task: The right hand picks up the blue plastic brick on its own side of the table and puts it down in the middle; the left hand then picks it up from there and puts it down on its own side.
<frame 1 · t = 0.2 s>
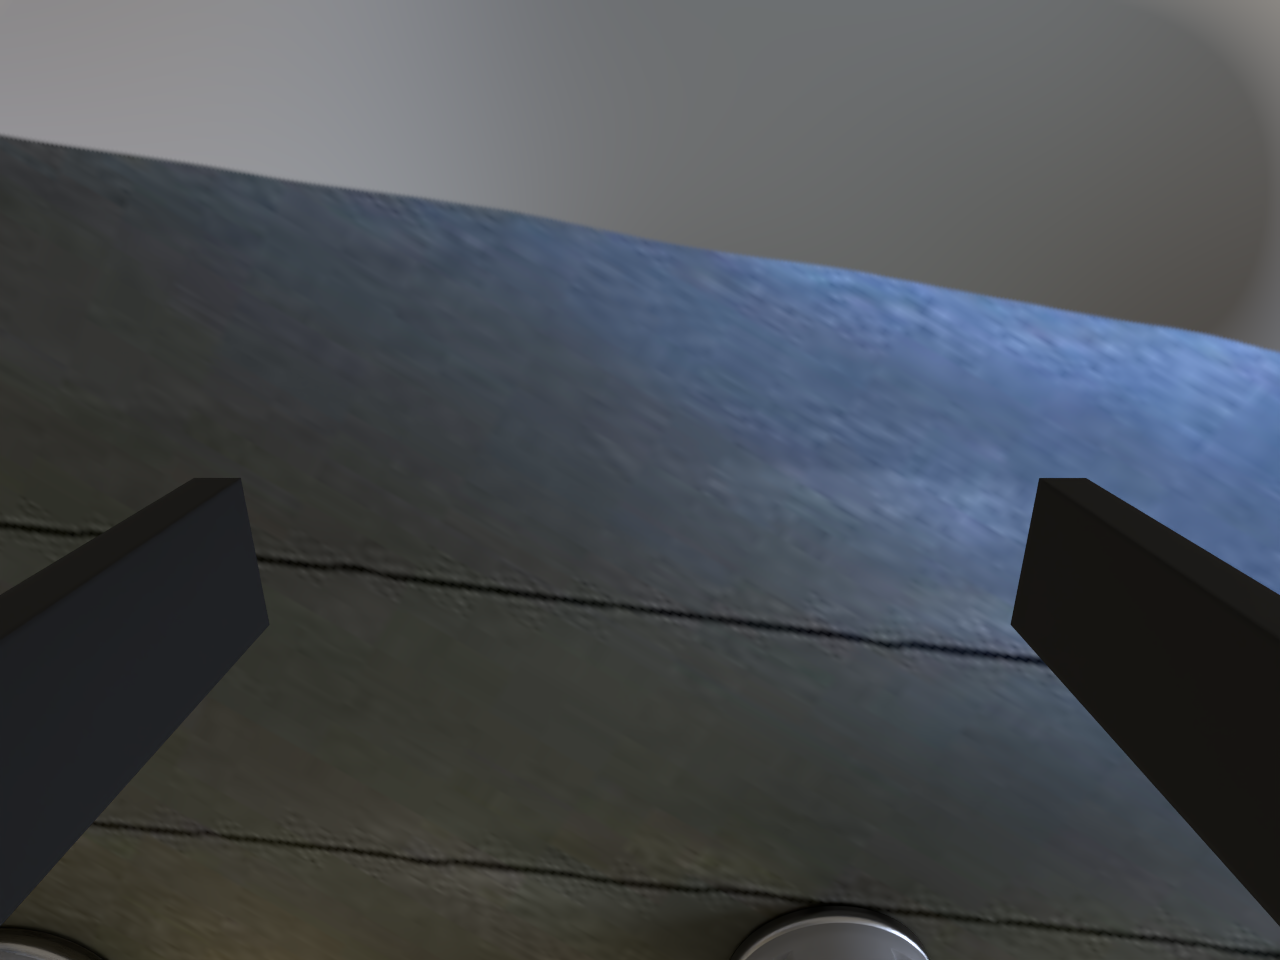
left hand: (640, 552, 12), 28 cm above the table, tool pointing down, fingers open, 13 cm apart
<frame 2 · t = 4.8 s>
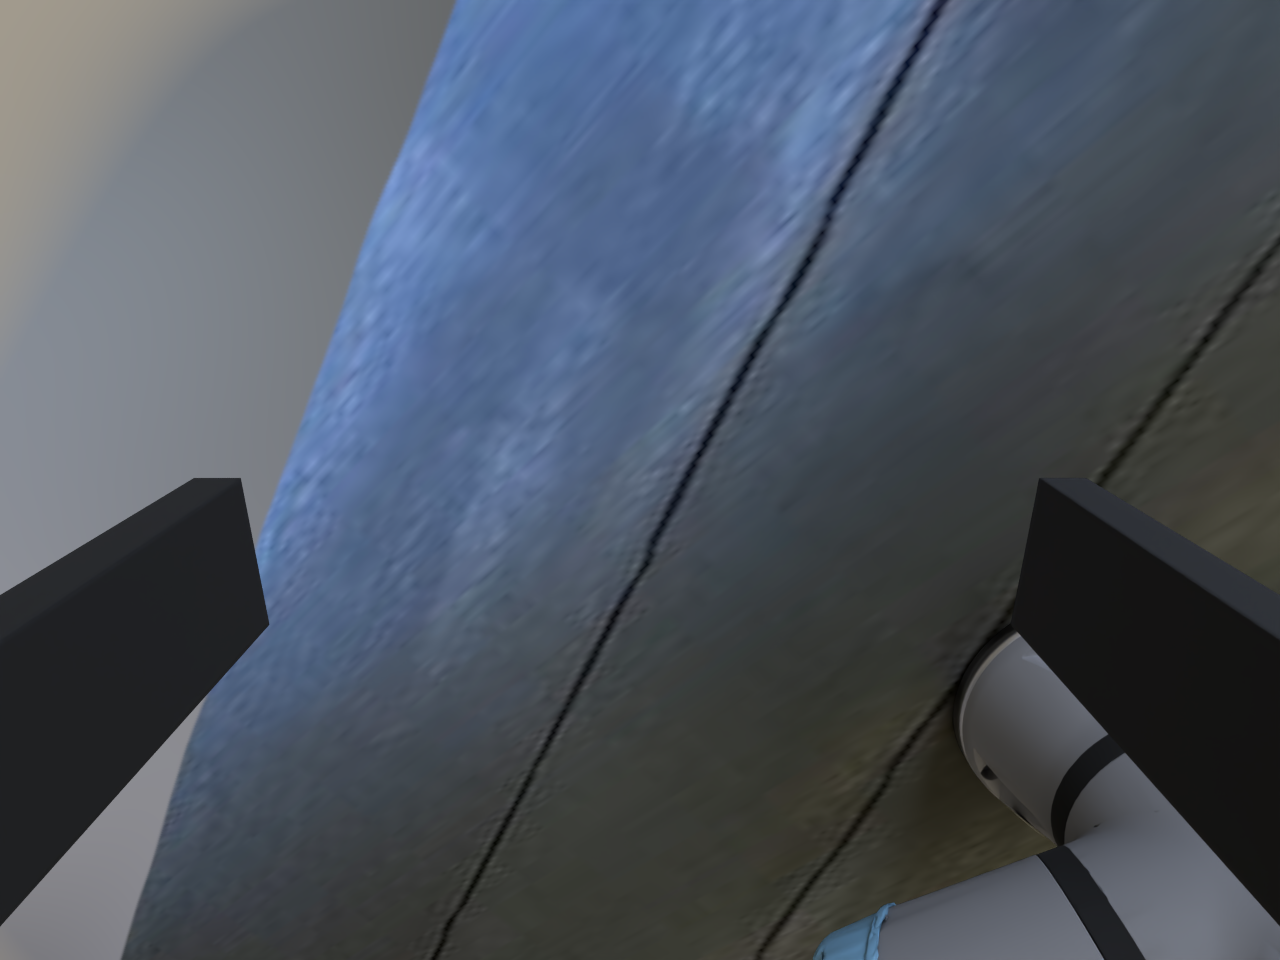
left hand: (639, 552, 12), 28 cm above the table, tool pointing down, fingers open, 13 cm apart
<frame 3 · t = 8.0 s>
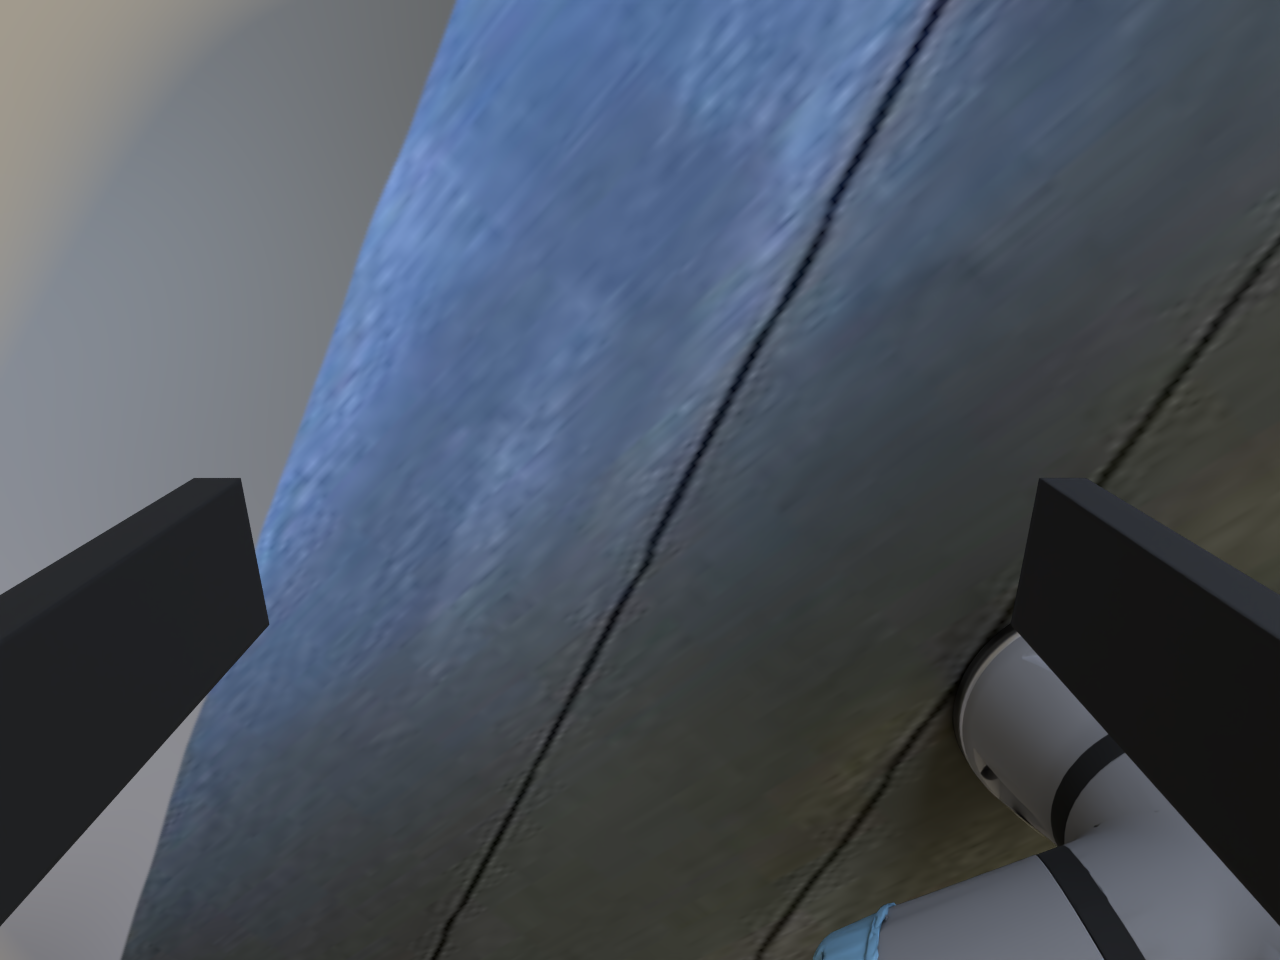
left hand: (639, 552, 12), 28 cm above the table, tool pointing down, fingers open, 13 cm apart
when the right hand's fingers open (3 cm above the table, at t = 11.5 s): brick drops 1 cm, on the table.
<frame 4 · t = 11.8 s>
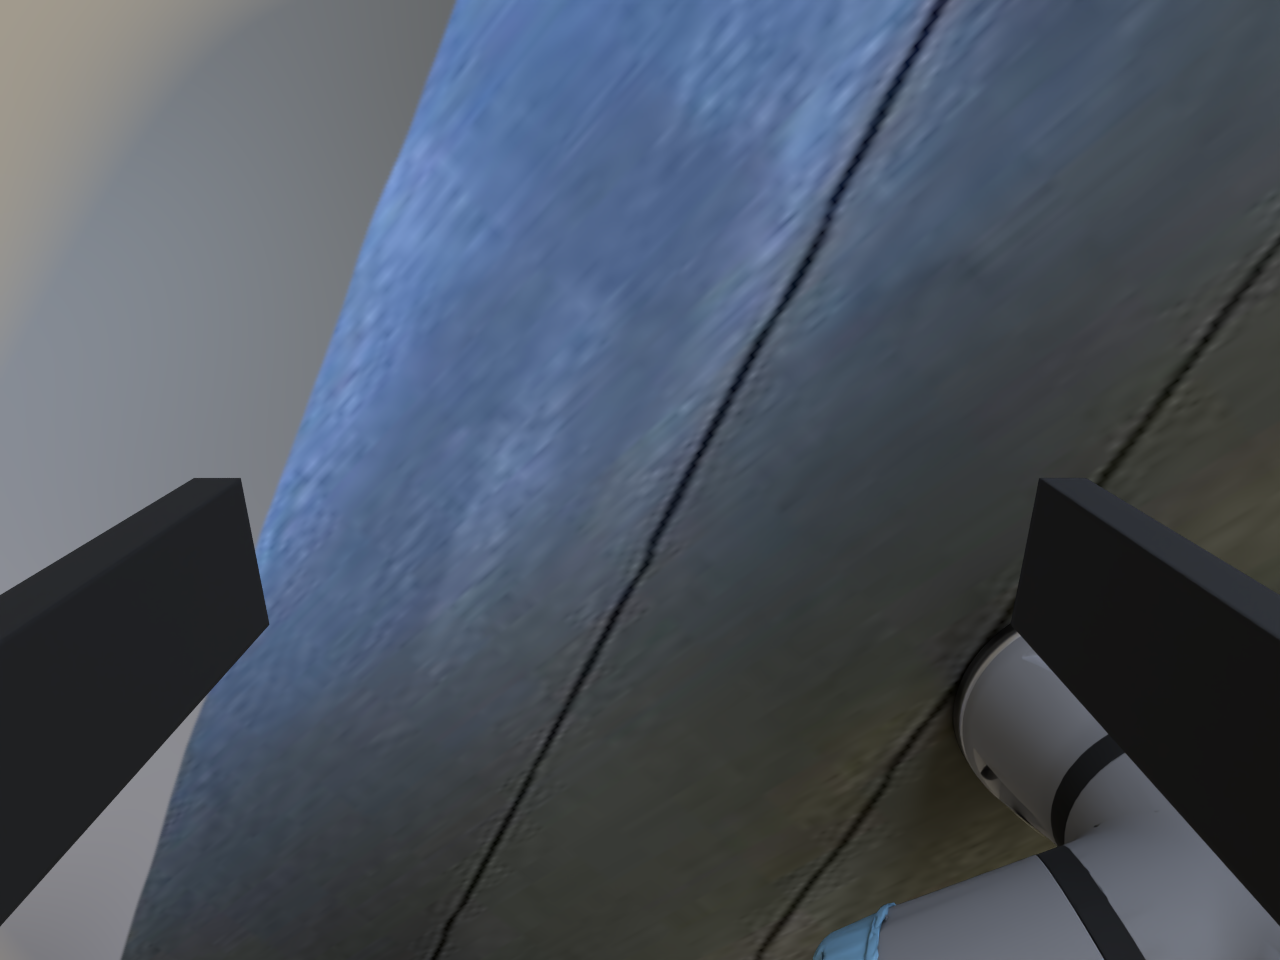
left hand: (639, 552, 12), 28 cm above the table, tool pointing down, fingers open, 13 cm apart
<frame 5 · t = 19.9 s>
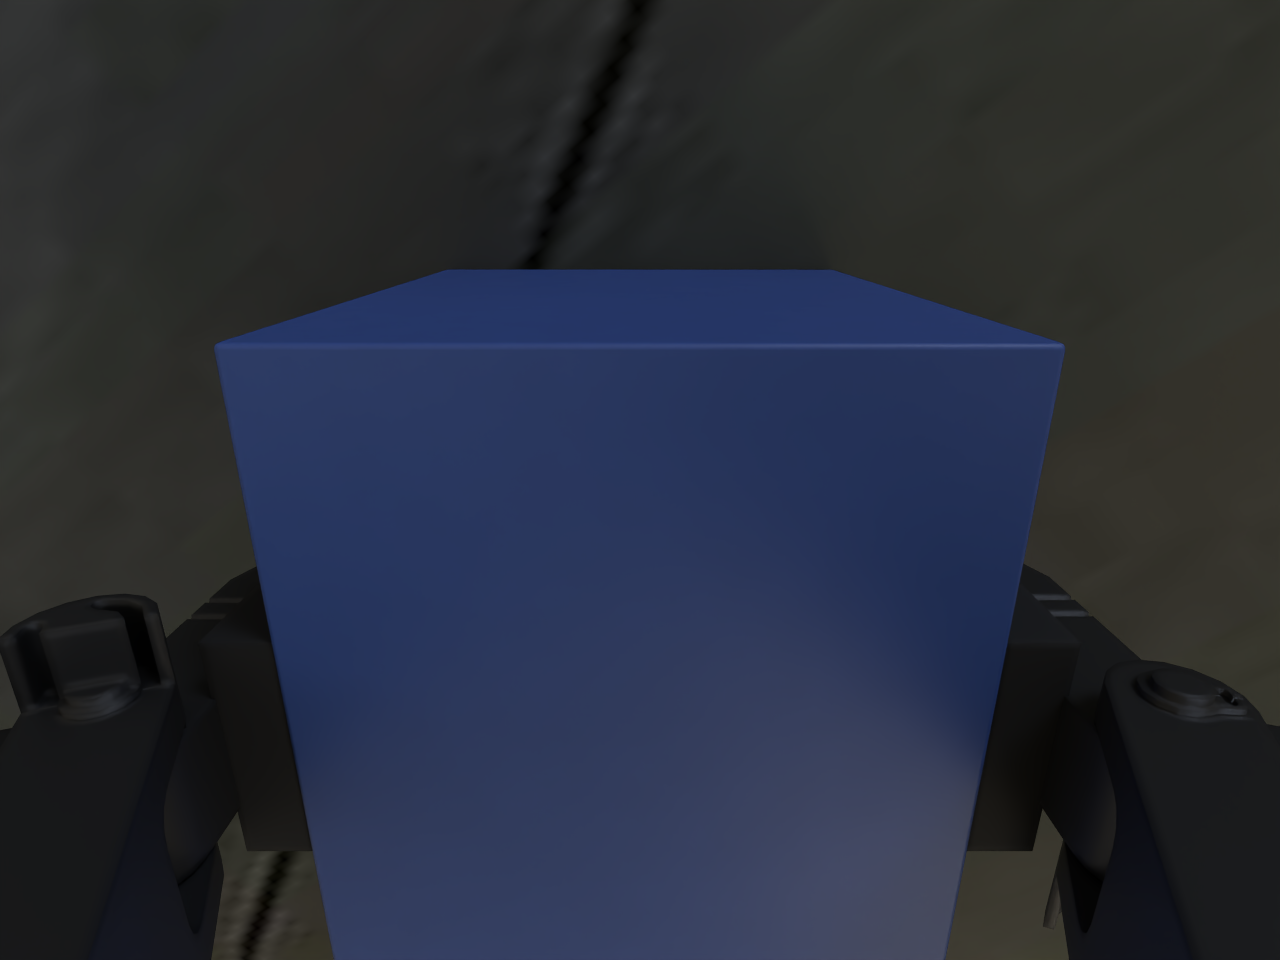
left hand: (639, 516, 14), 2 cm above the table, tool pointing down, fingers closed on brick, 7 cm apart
brick: (639, 488, 15), on the table, touching left hand
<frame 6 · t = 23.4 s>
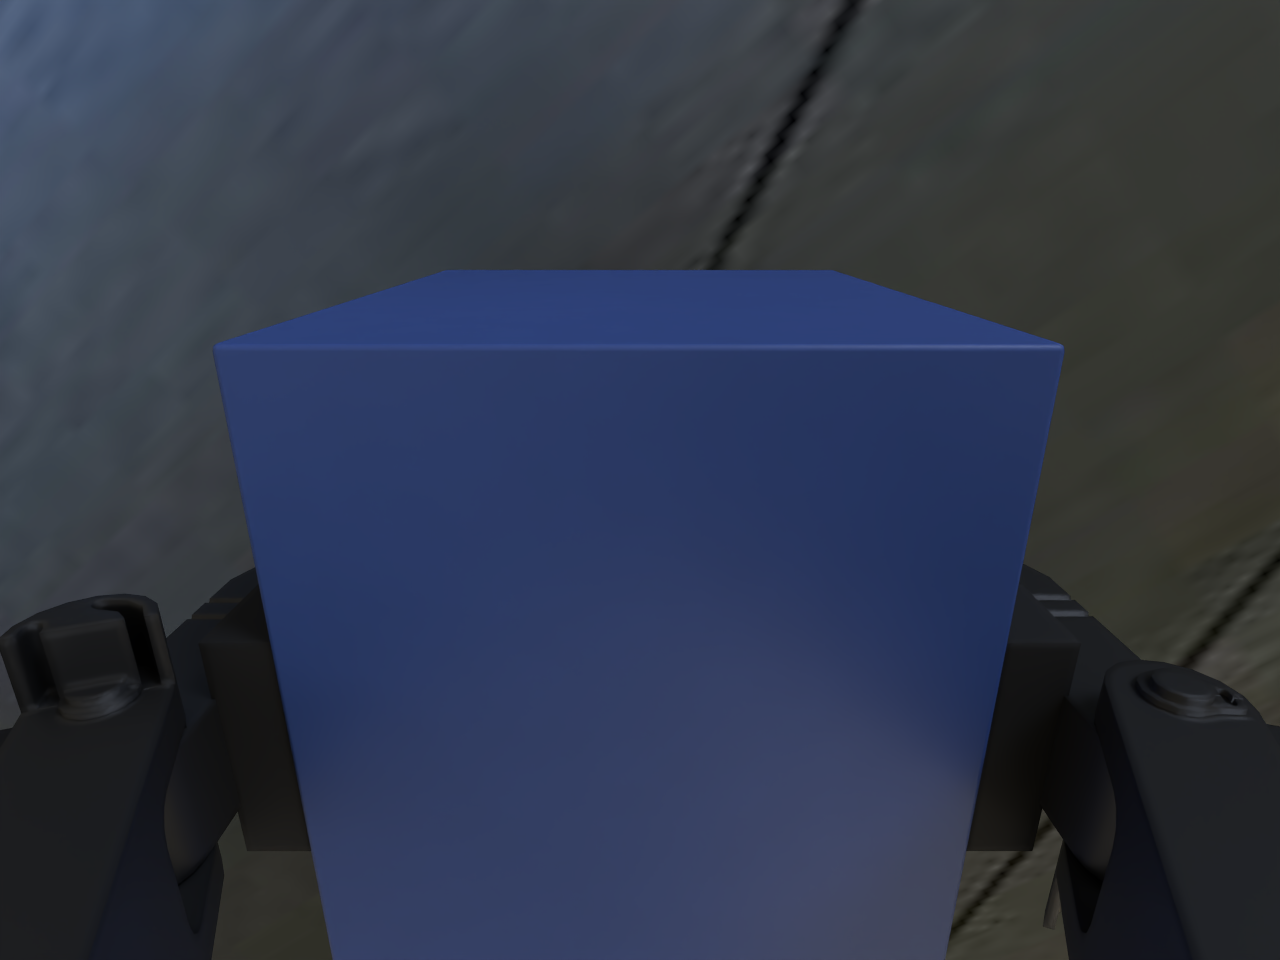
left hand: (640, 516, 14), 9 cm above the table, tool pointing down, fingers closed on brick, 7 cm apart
brick: (639, 489, 15), point 8 cm above the table, touching left hand
when the left hand's fingers open (3 cm above the table, at t = 27.2 s): brick drops 1 cm, on the table.
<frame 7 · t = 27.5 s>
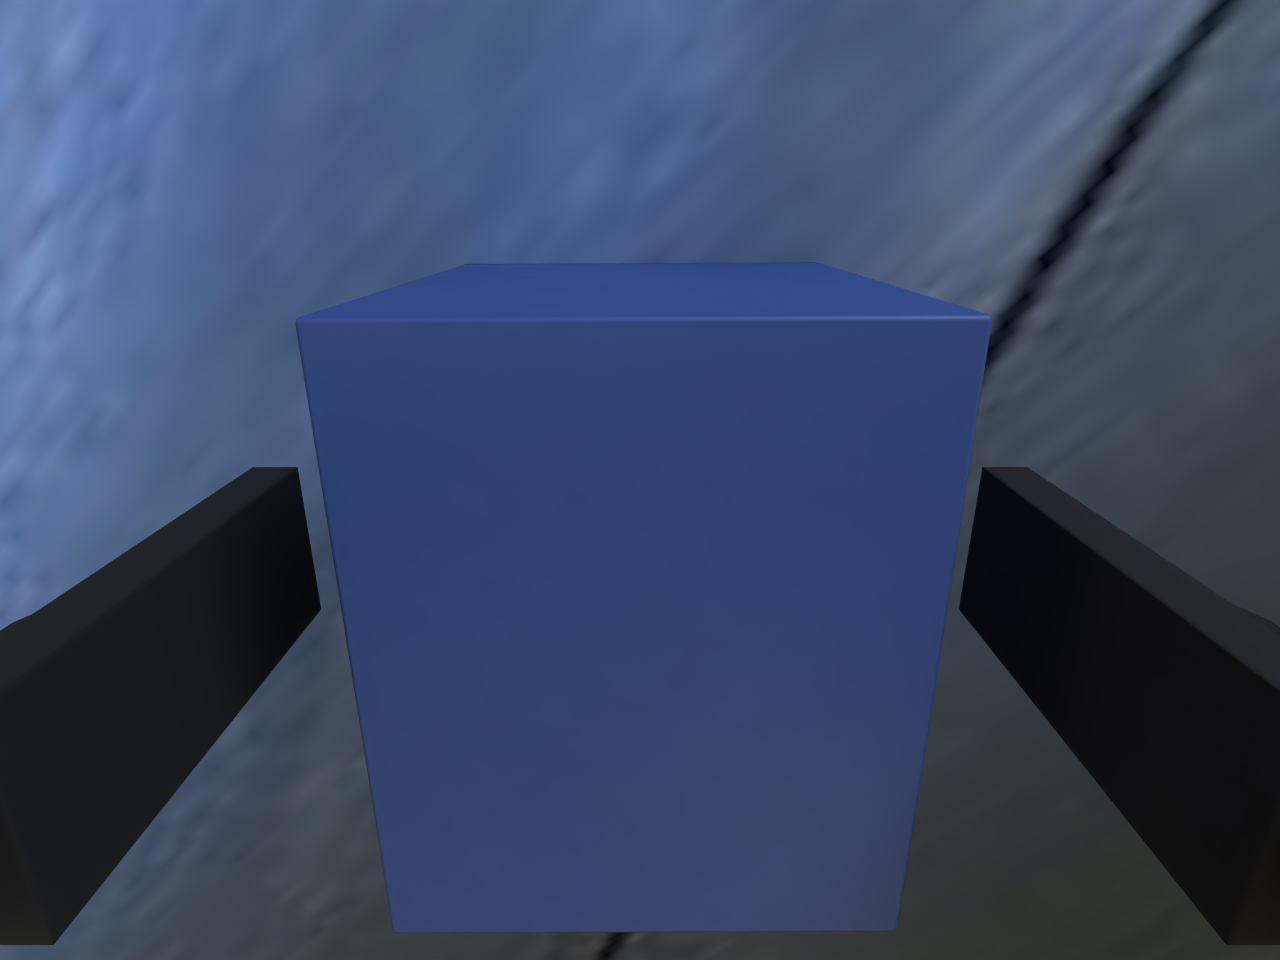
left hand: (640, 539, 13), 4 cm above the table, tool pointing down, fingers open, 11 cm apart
brick: (642, 464, 17), on the table
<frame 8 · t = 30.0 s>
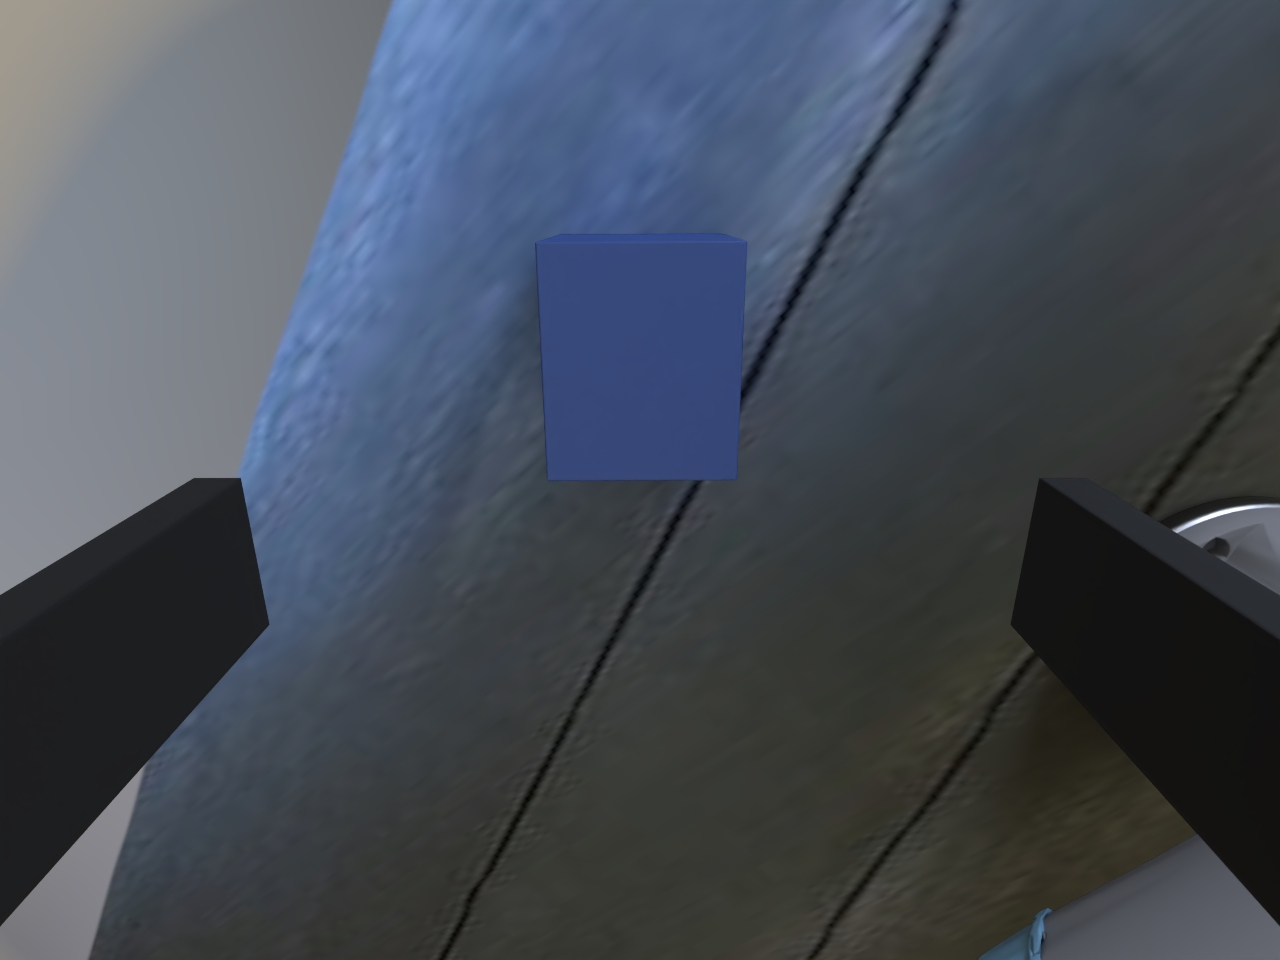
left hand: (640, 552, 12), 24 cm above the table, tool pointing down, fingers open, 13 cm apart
brick: (641, 333, 35), on the table
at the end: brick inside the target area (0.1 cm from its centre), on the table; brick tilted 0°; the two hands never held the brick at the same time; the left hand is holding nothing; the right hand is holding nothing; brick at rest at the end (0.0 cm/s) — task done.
